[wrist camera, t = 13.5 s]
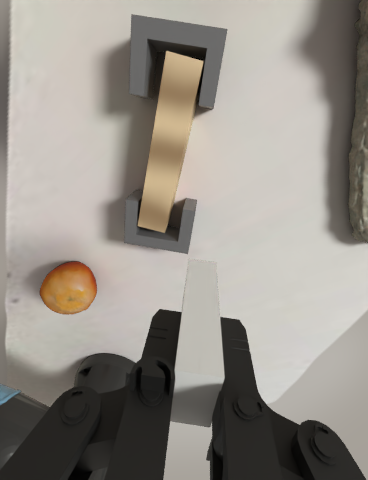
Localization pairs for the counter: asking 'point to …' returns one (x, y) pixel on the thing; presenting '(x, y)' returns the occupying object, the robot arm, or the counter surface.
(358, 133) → the long grey stone
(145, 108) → the counter surface
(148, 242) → the end caps
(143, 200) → the oak slat
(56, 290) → the fruit
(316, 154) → the counter surface
